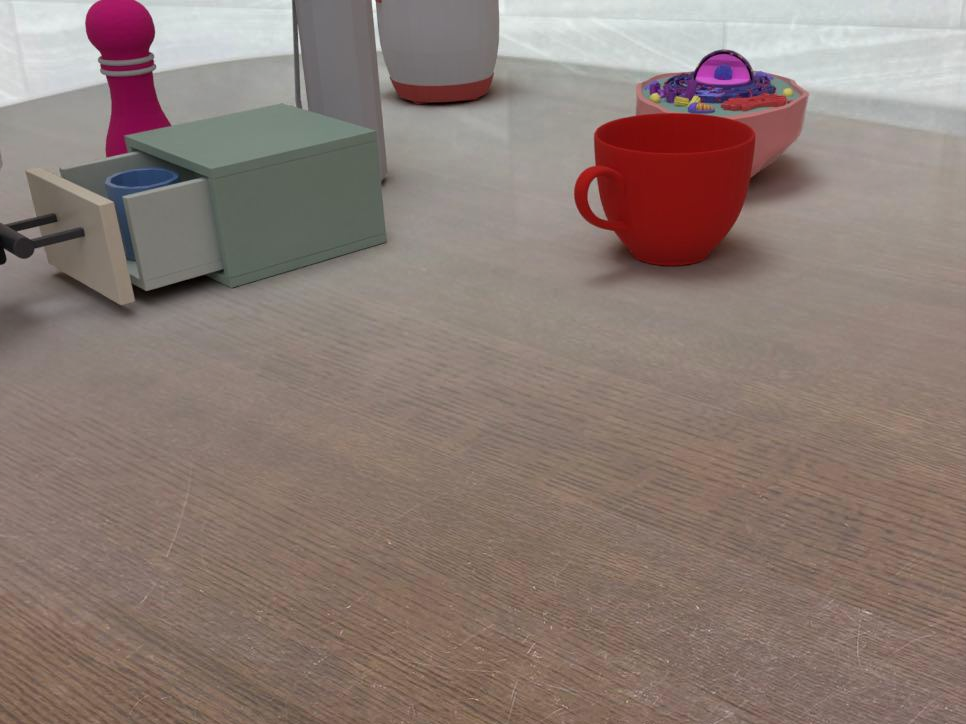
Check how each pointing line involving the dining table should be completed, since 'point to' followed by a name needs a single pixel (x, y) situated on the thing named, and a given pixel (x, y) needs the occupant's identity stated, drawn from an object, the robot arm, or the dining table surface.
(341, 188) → the green storage cabinet
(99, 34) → the pepper mill
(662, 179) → the ceramic cup
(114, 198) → the cup
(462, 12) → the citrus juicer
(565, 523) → the dining table surface
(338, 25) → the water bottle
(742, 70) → the cell model
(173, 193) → the drawer
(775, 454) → the dining table surface
